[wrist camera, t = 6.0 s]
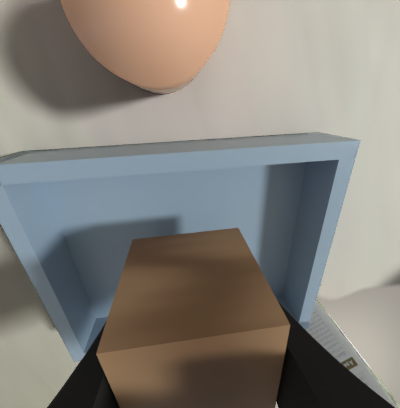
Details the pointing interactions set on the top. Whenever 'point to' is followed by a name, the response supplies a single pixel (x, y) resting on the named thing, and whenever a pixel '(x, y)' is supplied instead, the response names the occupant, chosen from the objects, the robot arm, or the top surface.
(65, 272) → the tote
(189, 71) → the peach rounded part
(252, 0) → the top surface
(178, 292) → the walnut block
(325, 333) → the syrup box
